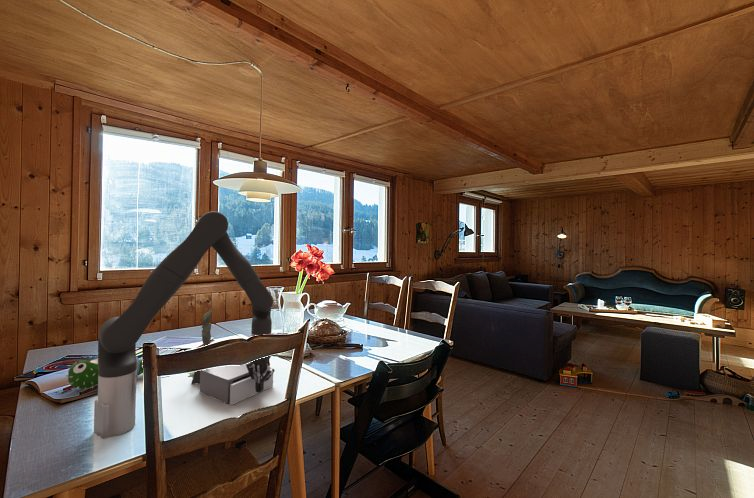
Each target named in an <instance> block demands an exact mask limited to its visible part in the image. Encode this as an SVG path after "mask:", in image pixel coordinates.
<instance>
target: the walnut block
mask: <svg viewBox="0 0 754 498" xmlns="http://www.w3.org/2000/svg"><path fill="white" fill-rule="evenodd" d="M248 377H251V376H250V375H247V376H245V377H242V378H239V379H237V382H238V381H241V380H243V379H246V378H248Z"/></svg>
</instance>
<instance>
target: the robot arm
mask: <svg viewBox="0 0 754 498" xmlns="http://www.w3.org/2000/svg"><path fill="white" fill-rule="evenodd" d="M228 228H229V221H228V218H227V217H226V215H224V214H223V213H222V212H220V211H214V210H213V211H208V212H205V213H204V214H202V215H201V216H200V218H199V219H198V221H197V223H196V224H195V226H194V227H193V229H192V230H191V231H190V233H189V234H188V235H187V237H186V238H185V239H184V240H183V241H181V243H180V244H179V245H178V246H177V247H176V248H174V249H173V250H172V251H171V252H170V253H169V254H167V256H166V257H165V258H164V259H162V260H161V262H159V264H158V265H157V266H156V267H155V268H154V270H152V272H151V273H150V274H149V275H148V277H147V278H146V280H145V281H144V283H143V284H142V287H141V288H140V290H139V292H138V293H137V295H136V297H135V299H134V300H133V302H132V303H131V304H130V305H129V306H128V308H126V309H125V310H124V312H123V313H122V314H120V315H119V316H115V317H114V316H113V317H111V318H109V319H107V320H106V321H105V322H103V323H102V325H101V326H100V327H99V330H98V336H97V339H98V340H97V359H98V384H97V399H95V400H94V405H93V408H94V409H93V433H94V434H96V435H97V436H99V437H101V438H102V439H106V438H109V437H115V436H119V435H122V434H124V433H127V432H129V431H131V430H132V429H133V428H134V427H135V425H136V405H137V404H136V402H137V400H136V399H137V378H136V373H137V359H136V357H137V352H136V351H137V349H136V347H137V346H136V345H137V342H138V341H139V340H140V339H141V336H142V335H143V334H144V333H145V331H146V330H147V327H148V326H149V325H150V323H151V322H152V321H153V319H154V318H155V316H156V315H157V314H158V312H159V311H161V309H162V308H164V306H165V305H167V303H169V300H171V298H173V296H174V295H175V294H176V292H177V293H178V290H180V289H181V287H182V286H183V285H184V284H185V282H186V281H187V280H188V279H189V277H190V275H191V274H192V273H193V272H194V270H195V269H196V268H197V266H198V265H199V263H200V261H201V260H202V259H203V257H204V255H206V253H207V252H208V251H209V250H210V249H211V247H212V248H213V250H214V251H215V252H216V253H217V254H218V256H219V257H220V258H221V260H222V261H223V262H224V264H225V266H226V267H227V269H228V270H229V272H230V274H232V276H233V278H234V279H235V281H236V282H237V284H238V285H239V286H240V288H242V290H243V291H244V292H245V294H246V296H247V297H248V300H249V302H250V303H251V311H252V319H251V330H250V331H251V334H250V337H251V336H255V335H263V334H271V335H272V328H273V327H272V323H273V322H272V321H273V320H272V317H271V315H272V314H271V313H272V307H273V305H274V298H273V297H274V296H272V294H271V292H269V290H268V289H267V287H266V286H265V284H263V282H262V281H261V279H260V277H259V275H258V274H257V272H256V269H254V267H253V265H252V264H251V263H250V262H249V260H247V258H246V257H245V256H244V255H243V254H242V253H241V252H240V250H239V249H238V248H237V247H236V246H235V244H234V243H233V241H232V239H231V238H230V236H229V234H228V232H227V231H228ZM271 357H272V355H271V356H268V357H265V358H261V359H258V360H255V361H253V362H250V363H248V364H246V367H247V369H248V372H249V374H250V376H251V379H254V381H255V390H256V392H258V393H257V394H261V392H264V391H263V389H264V382H265V381H268V380H269V378H270V377H271V376H272V374H273V375H274V373H275V369H274V368H272V367H271V366H270V365H271V363H270V359H271ZM252 372H253V373H252Z"/></svg>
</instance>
